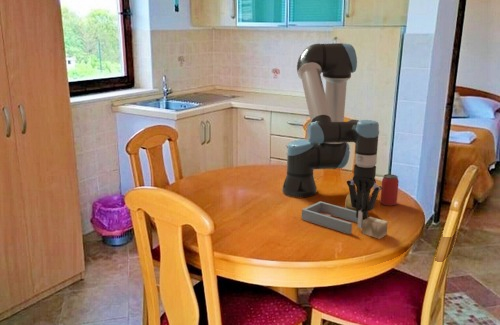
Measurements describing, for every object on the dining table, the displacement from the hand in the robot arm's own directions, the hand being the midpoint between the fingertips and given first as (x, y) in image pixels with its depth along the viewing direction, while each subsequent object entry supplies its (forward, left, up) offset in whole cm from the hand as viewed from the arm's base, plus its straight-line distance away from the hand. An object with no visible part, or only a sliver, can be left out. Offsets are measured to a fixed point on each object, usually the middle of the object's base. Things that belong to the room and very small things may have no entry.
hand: (361, 226), depth 180 cm
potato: (-10, +13, -1) cm, 17 cm away
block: (+2, 0, +1) cm, 2 cm away
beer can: (-6, +32, -1) cm, 33 cm away
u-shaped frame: (-11, 0, -1) cm, 11 cm away
